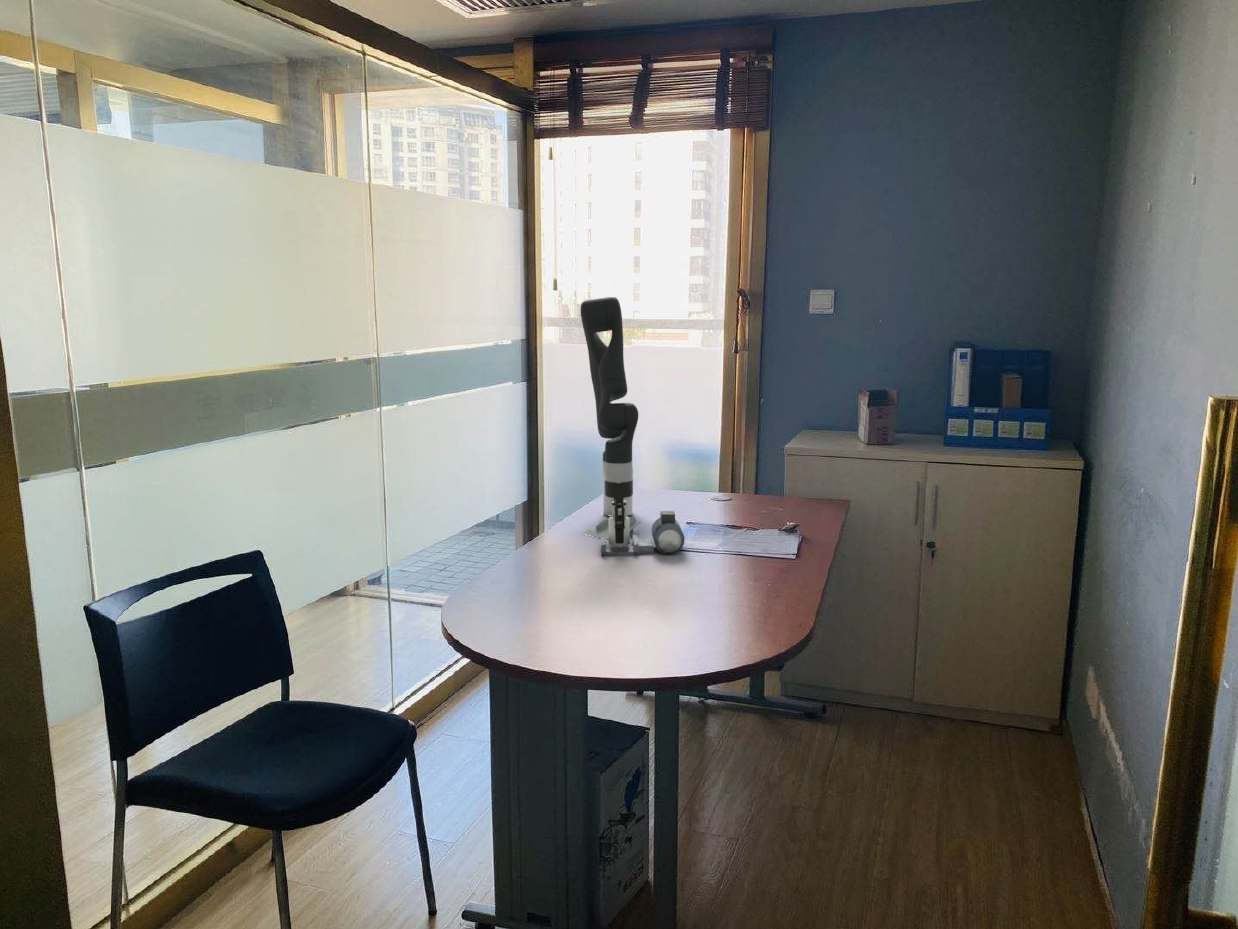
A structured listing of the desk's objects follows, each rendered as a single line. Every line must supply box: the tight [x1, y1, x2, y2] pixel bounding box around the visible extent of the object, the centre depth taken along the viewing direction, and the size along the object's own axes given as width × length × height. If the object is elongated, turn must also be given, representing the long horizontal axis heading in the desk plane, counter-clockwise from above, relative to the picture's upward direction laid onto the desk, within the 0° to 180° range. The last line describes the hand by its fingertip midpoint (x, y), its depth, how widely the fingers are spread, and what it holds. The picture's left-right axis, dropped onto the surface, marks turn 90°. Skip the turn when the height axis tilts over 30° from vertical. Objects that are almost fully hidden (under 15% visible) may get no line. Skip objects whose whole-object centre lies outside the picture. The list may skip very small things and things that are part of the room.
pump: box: [608, 516, 631, 547], centre depth 238 cm, size 6×6×9 cm
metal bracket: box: [581, 515, 642, 541], centre depth 256 cm, size 14×6×15 cm
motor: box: [600, 510, 686, 557], centre depth 238 cm, size 11×22×10 cm, turn 92°
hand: (619, 539), depth 238 cm, fingers closed on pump, 5 cm apart
